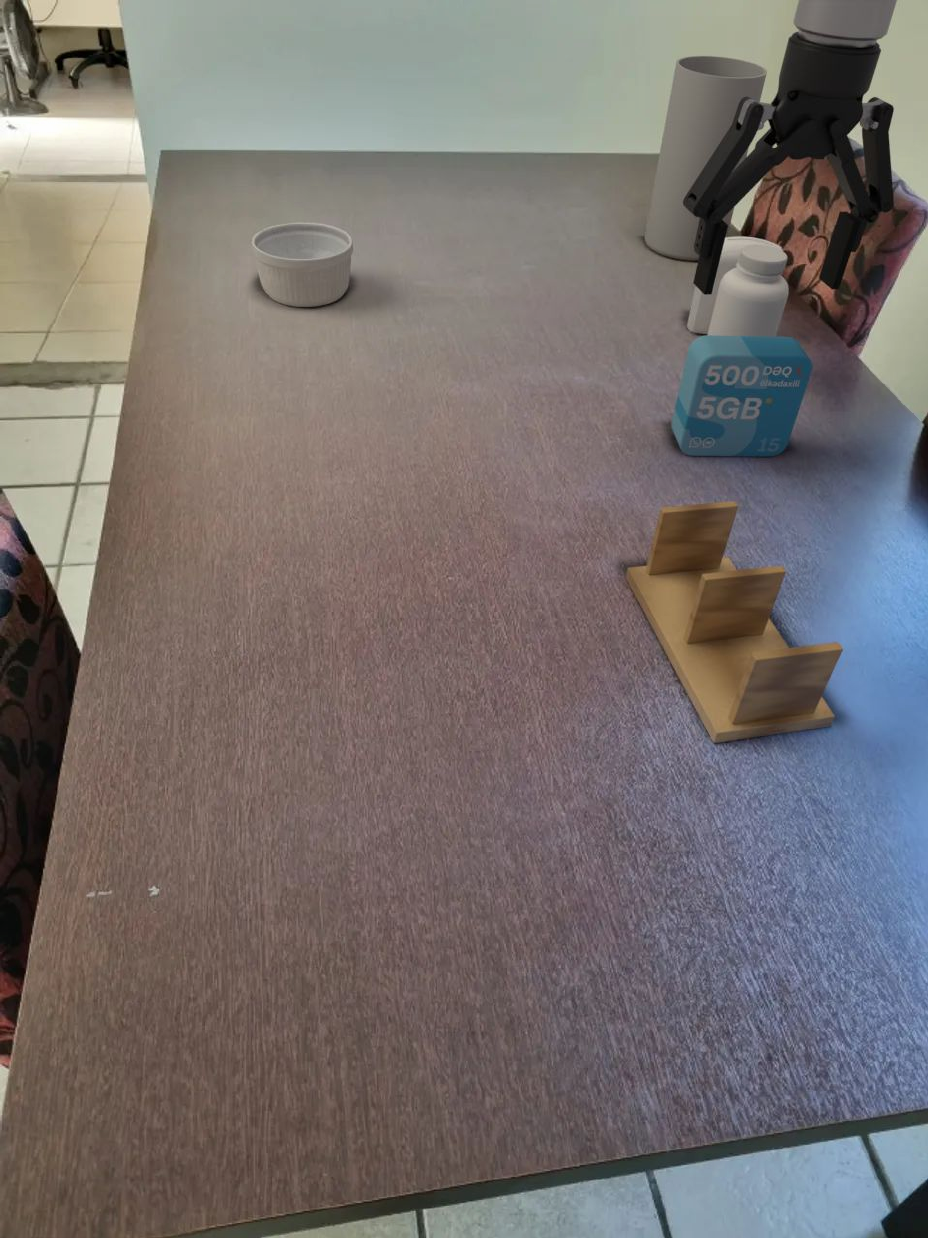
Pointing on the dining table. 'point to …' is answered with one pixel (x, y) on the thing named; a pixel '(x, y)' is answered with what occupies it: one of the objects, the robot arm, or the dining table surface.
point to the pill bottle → (751, 294)
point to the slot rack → (728, 630)
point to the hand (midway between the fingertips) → (766, 286)
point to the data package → (740, 395)
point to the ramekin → (303, 263)
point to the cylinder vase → (695, 143)
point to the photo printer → (728, 260)
